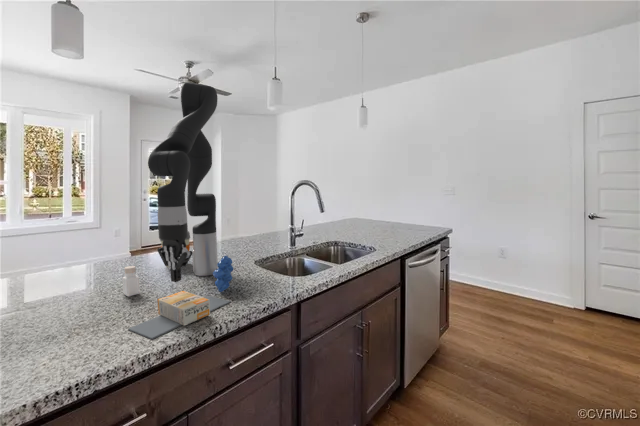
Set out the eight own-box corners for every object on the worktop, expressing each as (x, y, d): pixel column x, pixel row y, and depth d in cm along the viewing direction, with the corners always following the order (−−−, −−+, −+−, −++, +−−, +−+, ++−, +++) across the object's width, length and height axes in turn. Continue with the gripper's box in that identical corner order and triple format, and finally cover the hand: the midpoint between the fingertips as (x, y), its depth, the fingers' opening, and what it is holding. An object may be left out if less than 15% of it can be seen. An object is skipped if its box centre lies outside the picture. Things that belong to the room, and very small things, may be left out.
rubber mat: (128, 330, 79) (128, 328, 79) (208, 296, 102) (208, 295, 102) (152, 339, 74) (151, 338, 74) (230, 302, 97) (230, 301, 97)
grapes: (220, 283, 114) (219, 252, 113) (237, 284, 114) (236, 252, 112) (205, 295, 103) (204, 260, 102) (224, 296, 102) (223, 261, 101)
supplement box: (182, 289, 94) (210, 298, 86) (183, 304, 94) (211, 314, 87) (156, 298, 87) (183, 309, 80) (157, 314, 87) (184, 326, 80)
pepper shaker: (136, 291, 107) (134, 264, 106) (140, 293, 105) (138, 266, 103) (123, 294, 104) (121, 267, 103) (127, 297, 101) (125, 269, 100)
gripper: (146, 222, 87) (149, 281, 88) (176, 225, 80) (179, 289, 82) (170, 219, 93) (173, 274, 95) (199, 221, 87) (202, 280, 89)
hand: (176, 281), depth 88 cm, fingers closed
